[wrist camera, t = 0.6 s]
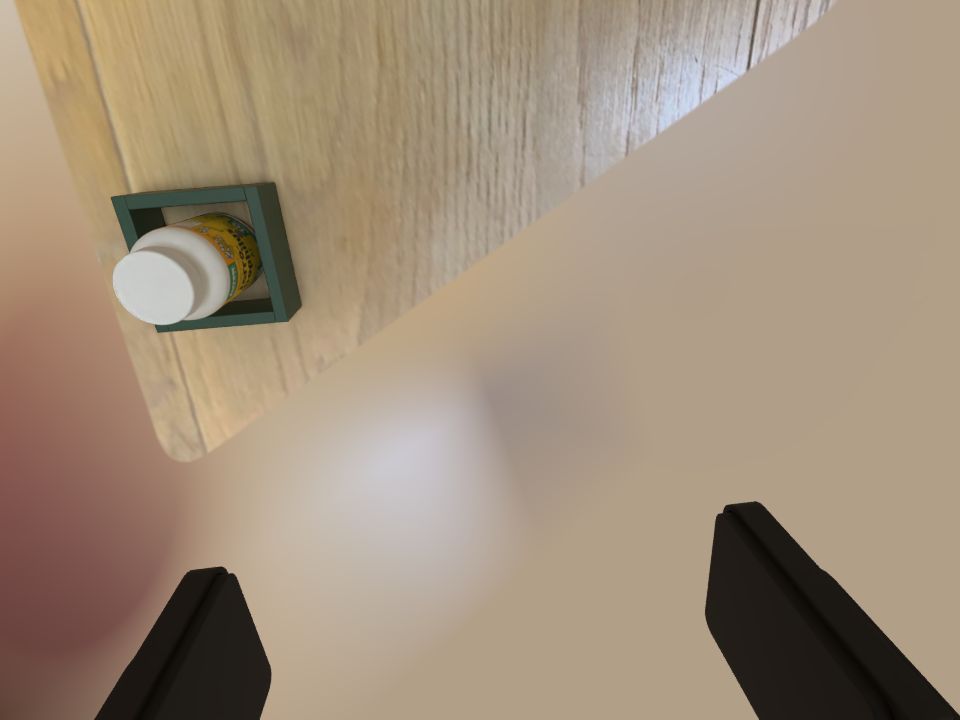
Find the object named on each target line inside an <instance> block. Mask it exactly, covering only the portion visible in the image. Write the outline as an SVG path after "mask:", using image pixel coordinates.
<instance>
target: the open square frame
mask: <svg viewBox="0 0 960 720" xmlns="http://www.w3.org/2000/svg"><path fill="white" fill-rule="evenodd" d="M111 200H112V203H113V206H114V209H115V212H116V214H117V217H118V220H119V223H120V226H121V229H122V232H123V235H124V238H125V240H126V243H127V246H128V249H129V252H131V249H132V247H133V246H134V244H135V243H136V242H137V241H138V240H139V239H140V238H141V237H142V236H144V235H145V234H147V233H148V232H150V231H153V230H156V229H159V228H162V227H165V223H164V220H163V217H162V213H161V210H160V207H171V206H184V205H197V204H210V203H223V202H236V201H247V203H248V207H249V211H250V215H251V220H252V224H253V228H254V232H255V236H256V240H257V244H258V248H259V252H260V257H261V261H262V265H263V269H264V273H265V277H266V281H267V285H268V289H269V294H270V299H259V300H247V301H235V302H228V303H226V304H225V305H224V306H222V307H221V308H220V309H218V310H217V311H216V312H214V313H213V314H211V315H209V316H207V317H204V318H201V319H196V320H181V321H179V322H176V323H173V324H169V325H156V324H155V327H156V330H157V332H158V333H160V332H169V331H170V332H172V331H183V330H195V329H207V328H218V327H230V326H242V325H253V324H265V323H276V322H288V321H289V320H290V319H291V318H292V317H293V315H294V314H295V313H296V312H297V311H298V310H299V309H300V308H301V306H302V305H301V301H300V296H299V291H298V287H297V282H296V278H295V273H294V269H293V264H292V259H291V255H290V250H289V246H288V241H287V237H286V232H285V228H284V223H283V218H282V214H281V209H280V205H279V200H278V196H277V191H276V186H275V183H274V182H270V183H257V184H244V185H230V186H217V187H204V188H191V189H178V190H164V191H151V192H141V193H134V194H127V195H120V196H113V197H111Z"/></svg>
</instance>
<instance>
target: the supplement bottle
mask: <svg viewBox="0 0 960 720" xmlns="http://www.w3.org/2000/svg"><path fill="white" fill-rule="evenodd" d="M262 269H263V265H262V261H261V257H260V252H259V248H258V244H257V240H256V236H255V233H254V232H253V231H252V230H251V229H250V228H249V227H248V226H247V225H246V224H244V223H243V222H242V221H240V220H239V219H237V218H235V217H233V216H231V215H227V214H222V213H209V214H205V215H201V216H198V217H195V218H191V219H188V220H185V221H181V222H178V223H175V224H172V225H168V226H165V227H162V228H159V229H156V230H153V231H150V232H148V233H147V234H145V235H144V236H142V237H141V238H140V239H139V240H138V241H137V242H136V243H135V244H134V246H133V247H132V249H131V252H130V254H128V255H126V256H124V257H123V258H122V259H121V260H120V261H119V262H118V263H117V265H116V267H115V269H114V272H113V287H114V291H115V293H116V296H117V298H118V300H119V301H120V303H121V304H122V305H123V306H124V308H125V309H126V310H128V311H129V312H130V313H131V314H132V315H134V316H135V317H137V318H139V319H141V320H143V321H145V322H148V323H151V324H156V325H169V324H173V323H176V322H179V321H181V320H196V319H201V318H204V317H207V316H209V315H211V314H213V313H214V312H216V311H217V310H218V309H220V308H221V307H222V306H224V305H225V304H226V303H228V302H229V301H230V300H232V299H233V298H234V297H236V296H237V295H238V294H240V293H241V292H243V291H244V290H245V289H246V288H248V287H249V286H250V285H251V284H253V283H254V282H255V281H256V280H257V278H258V277H259V275H260V274H261V272H262Z"/></svg>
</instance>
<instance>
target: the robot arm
mask: <svg viewBox="0 0 960 720" xmlns="http://www.w3.org/2000/svg"><path fill="white" fill-rule="evenodd" d="M705 616H706V621H707V625H708V628H709V630H710V632H711V634H712V636H713V638H714V639H715V641H716V643H717V645H718V647H719V648H720V650H721V652H722V654H723V656H724V657H725V659H726V661H727V663H728V665H729V666H730V668H731V670H732V672H733V673H734V675H735V677H736V679H737V681H738V682H739V684H740V686H741V688H742V689H743V691H744V693H745V695H746V697H747V699H748V700H749V702H750V704H751V706H752V707H753V709H754V711H755V713H756V715H757V717H758V718H759V720H960V715H959V714H958V713H957V712H956V711H955V710H954V709H953V708H952V707H951V706H950V705H949V703H948V702H947V701H946V700H945V699H944V698H943V697H942V696H941V695H940V694H939V693H938V691H937V690H936V689H935V688H934V687H933V686H932V685H931V684H930V683H929V682H928V681H927V679H926V678H925V677H924V676H923V675H922V674H921V673H920V672H919V671H918V670H917V669H916V667H915V666H914V665H913V664H912V663H911V662H910V661H909V660H908V659H907V658H906V657H905V655H904V654H903V653H902V652H901V651H900V650H899V649H898V648H897V647H896V646H895V645H894V643H893V642H892V641H891V640H890V639H889V638H888V637H887V636H886V635H885V634H884V633H883V631H882V630H881V629H880V628H879V627H878V626H877V625H876V624H875V623H874V622H873V621H872V620H871V618H870V617H869V616H868V615H867V614H866V613H865V612H864V611H863V610H862V609H861V608H860V606H858V604H857V603H856V602H855V601H854V600H853V599H852V598H851V597H850V596H849V594H848V593H847V592H846V591H845V590H844V589H843V588H842V587H841V586H840V585H839V584H838V582H837V581H836V580H835V579H834V578H833V577H832V576H830V575H829V574H828V573H827V572H826V571H824V570H822V569H820V568H819V566H818V565H816V563H815V562H814V561H813V560H812V559H811V558H810V557H809V556H808V554H807V553H806V552H805V551H804V550H803V549H802V548H801V547H800V545H799V544H798V543H797V542H796V541H795V540H794V539H793V538H792V537H791V536H790V534H789V533H788V532H787V531H786V530H785V529H784V528H783V527H782V526H781V525H780V523H779V522H778V521H777V520H776V519H775V518H774V517H773V516H772V515H771V514H770V512H769V511H767V509H766V508H765V507H764V506H763V505H762V504H761V503H759V502H756V501H755V502H747V503H738V504H730V505H726V506H725V508H724V510H723V513H721V514H718V515H717V517H716V521H715V530H714V539H713V547H712V556H711V564H710V573H709V581H708V590H707V599H706V607H705ZM270 684H271V667H270V664H269V662H268V659H267V656H266V654H265V651H264V648H263V646H262V643H261V640H260V638H259V635H258V632H257V630H256V627H255V624H254V622H253V619H252V617H251V614H250V611H249V609H248V606H247V603H246V601H245V598H244V595H243V593H242V590H241V588H240V585H239V582H238V580H237V577H236V576H235V575H234V574H233V573H230V574H228V572H227V570H226V569H225V568H224V567H213V568H205V569H196V570H190V571H189V572H187V573H186V575H185V576H184V577H183V579H182V580H181V582H180V584H179V585H178V587H177V588H176V590H175V592H174V593H173V595H172V597H171V598H170V600H169V601H168V603H167V605H166V606H165V608H164V610H163V611H162V613H161V615H160V616H159V618H158V619H157V621H156V623H155V625H154V626H153V628H152V629H151V631H150V633H149V634H148V636H147V638H146V639H145V641H144V642H143V644H142V646H141V647H140V649H139V650H138V652H137V654H136V656H135V657H134V659H133V660H132V661H131V662H130V664H129V665H128V666H127V668H126V669H125V671H124V672H123V674H122V675H121V677H120V679H119V680H118V682H117V683H116V685H115V687H114V688H113V690H112V692H111V693H110V695H109V697H108V698H107V700H106V701H105V703H104V705H103V706H102V708H101V710H100V711H99V713H98V714H97V716H96V718H95V719H94V720H260V717H261V714H262V711H263V707H264V704H265V701H266V698H267V695H268V692H269V689H270Z"/></svg>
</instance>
